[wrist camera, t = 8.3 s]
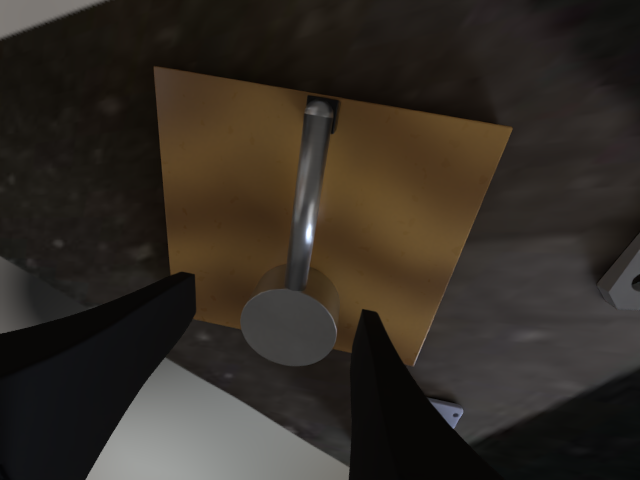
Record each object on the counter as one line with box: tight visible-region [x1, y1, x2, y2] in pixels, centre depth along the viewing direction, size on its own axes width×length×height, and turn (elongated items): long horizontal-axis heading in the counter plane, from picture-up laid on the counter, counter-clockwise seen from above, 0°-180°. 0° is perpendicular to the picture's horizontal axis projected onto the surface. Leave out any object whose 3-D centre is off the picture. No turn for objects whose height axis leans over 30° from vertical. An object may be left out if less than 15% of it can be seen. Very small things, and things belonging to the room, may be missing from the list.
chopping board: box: [154, 66, 513, 366], centre depth 20 cm, size 18×20×2 cm
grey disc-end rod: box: [240, 95, 341, 366], centre depth 18 cm, size 17×6×3 cm, turn 171°
